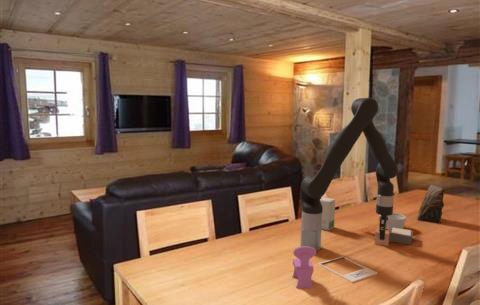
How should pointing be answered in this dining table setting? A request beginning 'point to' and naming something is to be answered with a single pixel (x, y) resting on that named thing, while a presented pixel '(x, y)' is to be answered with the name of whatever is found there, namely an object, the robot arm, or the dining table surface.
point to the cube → (382, 242)
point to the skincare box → (328, 213)
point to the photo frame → (354, 275)
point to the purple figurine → (303, 266)
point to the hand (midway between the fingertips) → (382, 236)
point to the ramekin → (396, 221)
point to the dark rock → (432, 205)
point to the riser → (400, 236)
